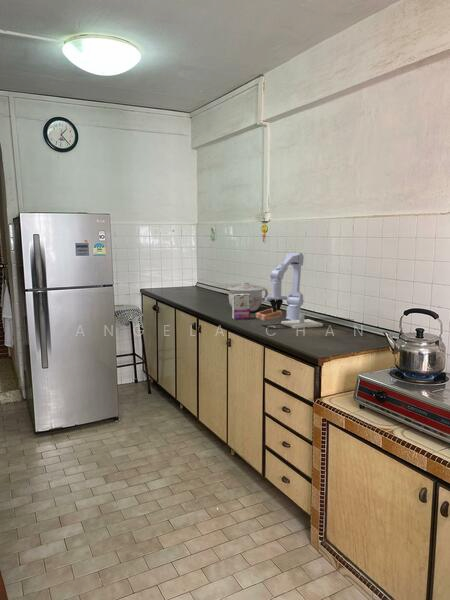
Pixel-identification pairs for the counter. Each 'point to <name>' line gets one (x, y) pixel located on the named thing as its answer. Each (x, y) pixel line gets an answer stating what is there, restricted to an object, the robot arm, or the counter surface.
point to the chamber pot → (249, 289)
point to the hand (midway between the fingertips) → (276, 311)
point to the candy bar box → (240, 306)
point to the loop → (268, 314)
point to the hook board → (301, 323)
